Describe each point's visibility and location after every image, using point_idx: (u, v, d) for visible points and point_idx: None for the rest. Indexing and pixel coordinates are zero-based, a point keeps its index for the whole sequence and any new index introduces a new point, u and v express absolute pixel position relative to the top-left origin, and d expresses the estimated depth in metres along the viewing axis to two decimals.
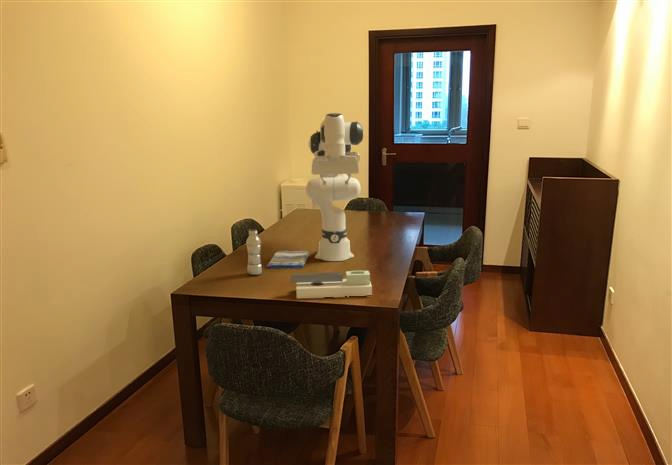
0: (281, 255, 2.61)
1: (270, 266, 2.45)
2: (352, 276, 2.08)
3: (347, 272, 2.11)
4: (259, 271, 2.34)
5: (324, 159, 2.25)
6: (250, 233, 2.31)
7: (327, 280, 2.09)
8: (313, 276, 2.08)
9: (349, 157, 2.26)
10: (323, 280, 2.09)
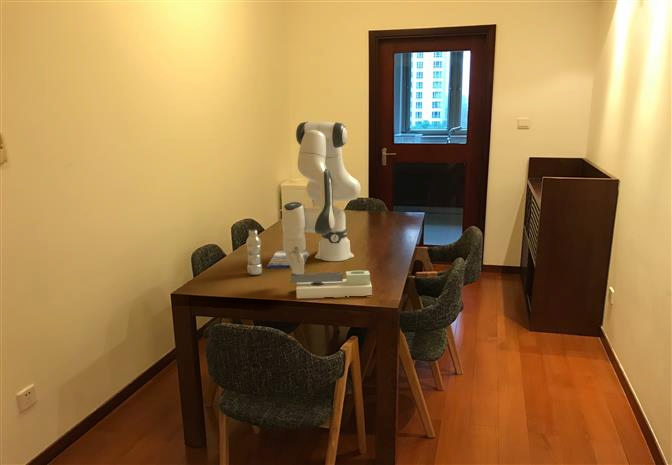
0: (281, 255, 2.62)
1: (270, 266, 2.45)
2: (352, 276, 2.08)
3: (347, 272, 2.11)
4: (259, 271, 2.34)
5: None
6: (250, 233, 2.31)
7: (327, 280, 2.09)
8: (313, 276, 2.08)
9: (292, 254, 2.03)
10: (323, 280, 2.09)
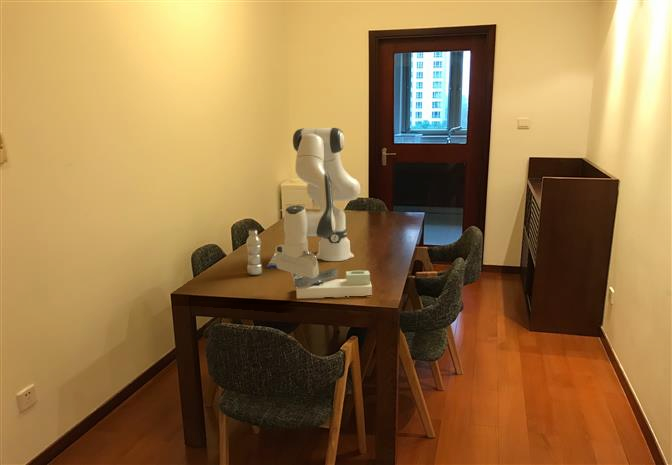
0: None
1: (270, 266, 2.45)
2: (352, 276, 2.08)
3: (347, 272, 2.11)
4: (259, 271, 2.34)
5: (283, 256, 2.04)
6: (250, 233, 2.31)
7: (326, 278, 2.12)
8: None
9: (304, 259, 1.98)
10: (323, 278, 2.11)
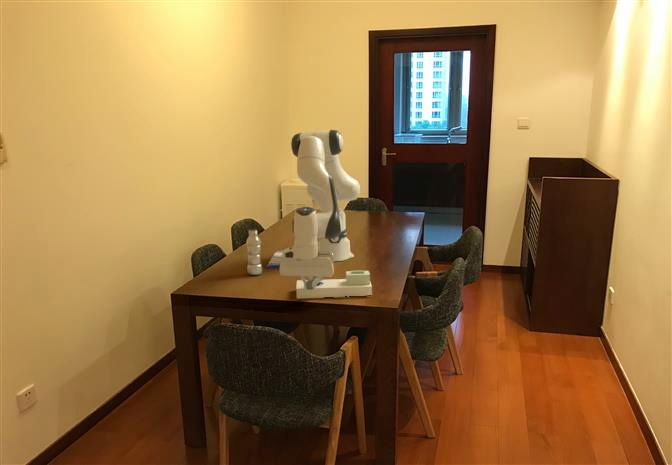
0: (281, 255, 2.62)
1: (270, 266, 2.45)
2: (352, 276, 2.08)
3: (347, 272, 2.11)
4: (259, 271, 2.34)
5: (293, 260, 1.98)
6: (250, 233, 2.31)
7: None
8: None
9: (322, 259, 1.98)
10: (321, 277, 2.12)
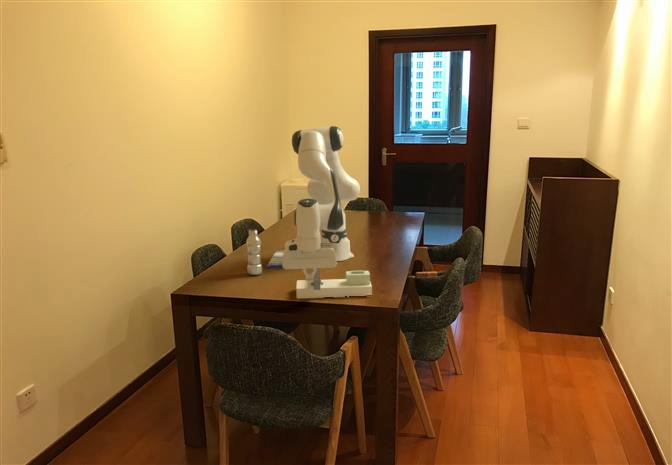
0: (281, 255, 2.62)
1: (270, 266, 2.45)
2: (352, 276, 2.08)
3: (347, 272, 2.11)
4: (259, 271, 2.34)
5: (296, 253, 1.96)
6: (250, 233, 2.31)
7: None
8: None
9: (325, 250, 1.97)
10: None
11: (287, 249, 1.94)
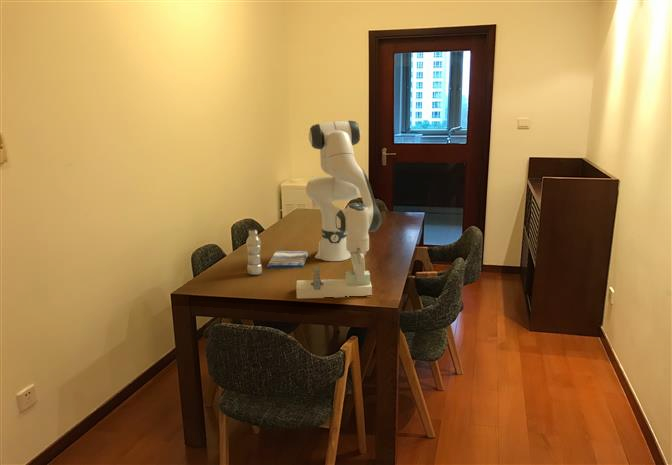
0: (280, 255, 2.62)
1: (270, 266, 2.45)
2: (352, 276, 2.08)
3: (347, 272, 2.11)
4: (259, 271, 2.34)
5: None
6: (250, 233, 2.31)
7: None
8: None
9: (354, 255, 2.02)
10: None
11: None
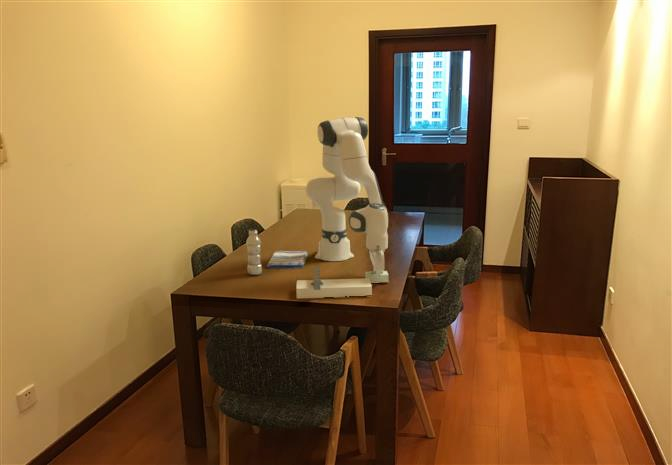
0: (280, 255, 2.62)
1: (270, 266, 2.45)
2: (372, 276, 2.21)
3: (367, 272, 2.24)
4: (259, 271, 2.34)
5: None
6: (250, 233, 2.31)
7: None
8: None
9: (374, 252, 2.15)
10: None
11: None
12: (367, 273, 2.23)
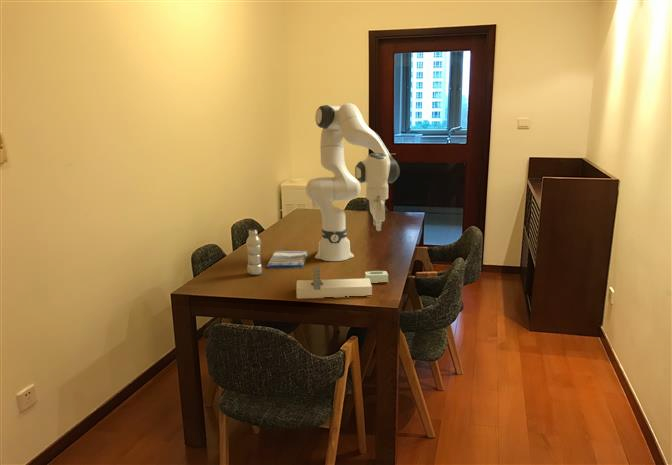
0: (280, 255, 2.62)
1: (270, 266, 2.45)
2: (371, 276, 2.21)
3: (366, 272, 2.24)
4: (259, 271, 2.34)
5: None
6: (250, 233, 2.31)
7: None
8: None
9: (374, 202, 2.10)
10: None
11: None
12: (367, 273, 2.23)
